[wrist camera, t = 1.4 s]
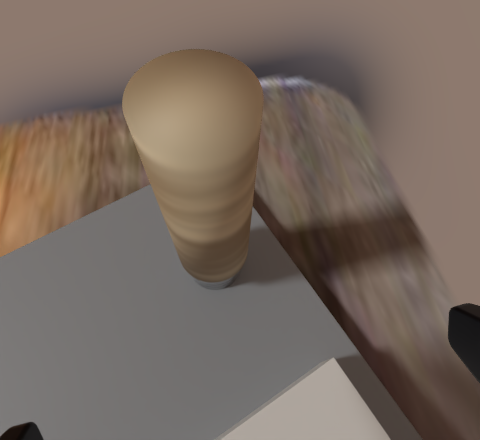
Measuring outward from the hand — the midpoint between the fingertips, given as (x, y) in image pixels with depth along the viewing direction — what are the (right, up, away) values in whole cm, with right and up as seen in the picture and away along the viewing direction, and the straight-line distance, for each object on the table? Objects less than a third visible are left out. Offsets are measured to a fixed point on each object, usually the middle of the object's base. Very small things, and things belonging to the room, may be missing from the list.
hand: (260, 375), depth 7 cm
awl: (-2, +1, +13) cm, 13 cm away
